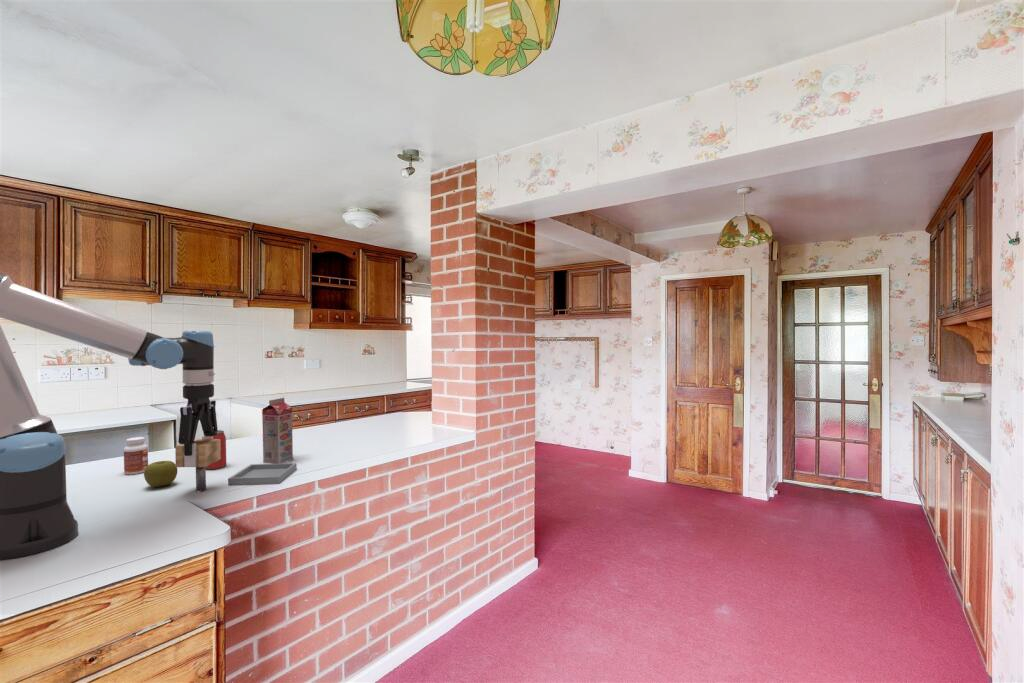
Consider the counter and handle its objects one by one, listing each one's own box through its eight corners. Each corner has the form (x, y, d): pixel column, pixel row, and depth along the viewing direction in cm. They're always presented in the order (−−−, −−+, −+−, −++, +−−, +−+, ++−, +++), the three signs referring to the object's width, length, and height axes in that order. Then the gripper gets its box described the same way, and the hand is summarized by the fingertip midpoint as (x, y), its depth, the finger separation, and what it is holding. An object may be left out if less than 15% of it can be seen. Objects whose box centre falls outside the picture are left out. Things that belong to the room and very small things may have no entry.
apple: (143, 485, 141) (143, 462, 140) (176, 479, 146) (176, 457, 146) (145, 492, 135) (144, 467, 135) (179, 486, 140) (178, 462, 140)
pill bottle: (147, 472, 153) (146, 439, 152) (123, 476, 149) (122, 441, 149) (149, 468, 158) (148, 435, 158) (125, 471, 155) (124, 437, 154)
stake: (203, 491, 135) (202, 462, 135) (194, 491, 135) (193, 462, 135) (207, 488, 138) (207, 459, 138) (199, 488, 138) (198, 460, 137)
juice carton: (263, 462, 164) (262, 400, 163) (277, 457, 170) (276, 397, 170) (278, 464, 162) (277, 400, 161) (292, 459, 168) (291, 398, 168)
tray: (278, 483, 142) (278, 477, 142) (228, 485, 141) (228, 478, 141) (296, 469, 157) (296, 463, 156) (250, 470, 155) (250, 464, 155)
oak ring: (205, 466, 132) (205, 445, 132) (175, 467, 132) (175, 446, 132) (220, 459, 140) (220, 439, 140) (192, 459, 140) (192, 439, 140)
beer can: (199, 468, 157) (198, 433, 157) (219, 463, 163) (218, 429, 163) (210, 471, 154) (209, 435, 154) (230, 466, 160) (229, 431, 160)
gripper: (190, 388, 125) (191, 472, 126) (230, 380, 146) (231, 452, 147) (161, 388, 125) (162, 473, 125) (205, 380, 146) (205, 453, 146)
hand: (199, 462), depth 136 cm, fingers closed on oak ring, 8 cm apart
